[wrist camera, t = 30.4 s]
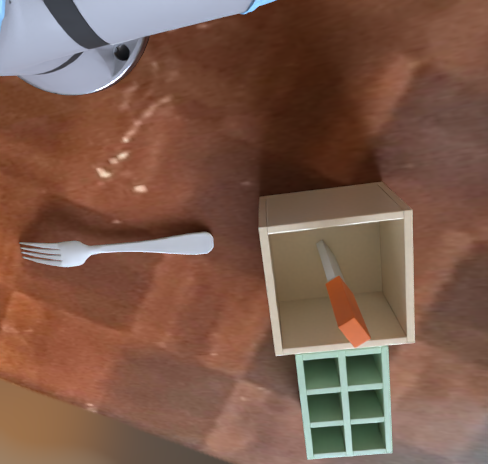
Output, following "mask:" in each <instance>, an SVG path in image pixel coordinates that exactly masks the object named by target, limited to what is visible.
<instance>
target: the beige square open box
mask: <svg viewBox="0 0 488 464" xmlns="http://www.w3.org/2000/svg"><path fill="white" fill-rule="evenodd" d="M258 229H259V237H260V244H261V251H262V259H263V266H264V274H265V281H266V289H267V296H268V304H269V311H270V319H271V326H272V333H273V341H274V348H275V355H276V356H280V355H290V354H301V353H311V352H322V351H332V350H343V349H353V348H354V347H353V345H352V344H351V343H350V342H349V340H348V339H347V338H346V337H345V335H344V334H343V333H342V332H341V330H340V329H339V328H338V325H337V322H336V318H335V315H334V312H333V308H332V305H331V301H330V298H329V295H328V291H327V288H326V283H328V281H327V278H326V274H325V271H324V268H323V265H322V261H321V258H320V255H319V252H318V249H317V245H316V243H318V242H319V241H321V240H323V241H324V242H325V244H326V245H327V246H328V248H329V249H330V250H331V251H332V253H333V254H334V255H335V257H336V260H337V262H338V265H339V268H340V270H341V273H342V275H343V278H344V280H345V283H346V285H347V286H348V288H349V289H350V290H351V292H352V293H353V295H354V297H355V300H356V302H357V304H358V307H359V309H360V312H361V314H362V317H363V319H364V322H365V324H366V327H367V329H368V332H369V334H370V336H371V339H370V340H368V341H366V342H365V343H363V344H361V345H360V346H358V347H356V348H364V347H374V346H385V345H395V344H406V343H415V320H414V267H413V214H412V209H411V208H410V207H409V206H408V205H407V204H406V203H405V202H404V201H403V200H401V199H400V198H399V197H398V196H397V195H396V194H395V193H394V192H393V191H392V190H391V189H390V188H389V187H387V186H386V185H385V184H384V183H383V182H375V183H367V184H359V185H351V186H343V187H335V188H327V189H318V190H310V191H302V192H294V193H286V194H278V195H270V196H262V197H259V222H258Z"/></svg>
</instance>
